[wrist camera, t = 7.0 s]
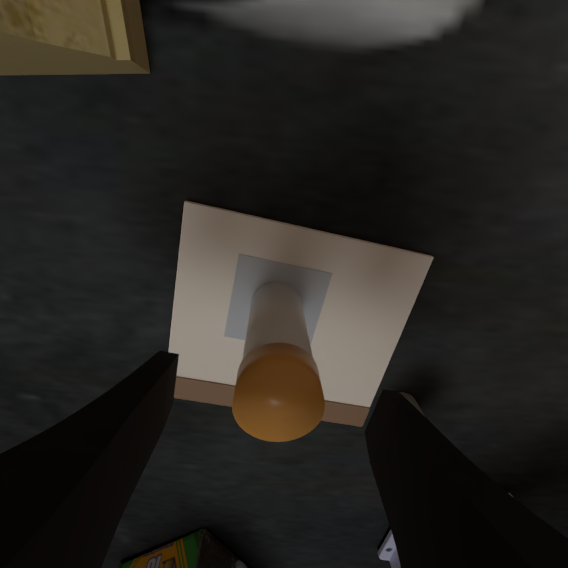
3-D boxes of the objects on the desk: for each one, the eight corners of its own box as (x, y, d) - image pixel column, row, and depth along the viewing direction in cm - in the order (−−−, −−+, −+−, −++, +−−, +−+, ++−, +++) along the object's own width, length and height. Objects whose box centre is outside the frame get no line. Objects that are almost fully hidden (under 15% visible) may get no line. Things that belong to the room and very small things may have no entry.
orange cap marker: (296, 333, 18) (311, 447, 11) (244, 323, 17) (225, 435, 10) (309, 285, 16) (336, 378, 10) (254, 274, 16) (241, 362, 9)
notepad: (360, 420, 21) (362, 426, 20) (166, 390, 19) (163, 396, 19) (430, 255, 16) (434, 257, 16) (186, 200, 15) (183, 201, 15)
